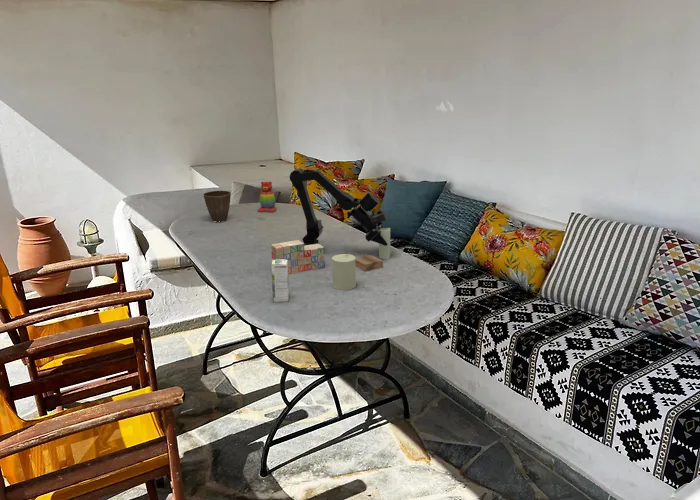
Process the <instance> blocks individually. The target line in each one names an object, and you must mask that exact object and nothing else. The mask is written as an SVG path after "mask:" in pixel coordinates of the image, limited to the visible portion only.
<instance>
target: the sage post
mask: <svg viewBox="0 0 700 500" xmlns="http://www.w3.org/2000/svg"><path fill="white" fill-rule="evenodd" d="M380 230H381V236H382V237H383V238H384V240H385V241H386V242H387V244H388V245H387V246H385V245H382V244H379V243H378V259H382V258H389V259H390V257H391V227H383V228H380ZM380 230H379V231H380Z"/></svg>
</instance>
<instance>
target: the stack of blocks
mask: <svg viewBox="0 0 700 500" xmlns="http://www.w3.org/2000/svg"><path fill="white" fill-rule="evenodd" d="M270 253H271V260H277V259H284V260H288V275H290V274H296V273H300V272H302V273H303V272H305V271H306V272H307V271H311V270H318V269H324V268H326V264H325V263H326V257H325V246H323V245H321V244H313V245H306V246H304V242H303V241H300V240H299V239H295V240H290V241H285V242H278V243H272V244H271V252H270Z"/></svg>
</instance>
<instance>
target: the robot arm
mask: <svg viewBox="0 0 700 500" xmlns="http://www.w3.org/2000/svg"><path fill="white" fill-rule="evenodd" d="M289 180H290V182H291V184H292V186H293V187H294V189H295V190H296V191H297V194H298V197H299V201H300V205H301V208H302V211H303V214H304V216H305V221H306V225H305V226H306V228H305V229H306V234H305V235H304V236H303V238H302V243H304V246H306V245H313V244H320V241H319V237H320V236H322V233H323V231H324V230H323V228H324V226H323V224H322V219H318V218H317V217H316V214H315V211H314V208H313V204H312V201H311V197H310V195H309V194H310V193H309V191H308V188H307V186H308V183H307V182H308V181H315V182H316V183H317V184H318V185H320V186H321V187H322V188H323V189H324V190H325V191H326V192H328V194H330V195H331V196H332V197H333V198H334V199H335V201H336V202H337V204H338V206H339V207H340V208H341V209H342V210H343V211H347V212H346V215H347V217H346V218H347V219H349V218H350V217H352V218H353V219H354V220H355V221H356V222H357V223H358V224H359V227H360V228H363V229H364V230H365V231H366V235H365V240H366V241H367V242H374V243H377V244H378V245H379V244H382V245H385V246H387V245H388V244H387V242H386V241H385V240H384V238H383V237H382V236H381V230H380V228H384V226H385V225H384V222H385V221H387V219H388V217H387V215H386V214H387V213H386V212H385V211H383V210H382V209H380V210H378V211H377V213H376V214H375V215H373V214H369V213H368V212H371V211H373V210H374V209H375V208H376V207H377V206H378V205H379V204H380V200H379V199H378V198H377V196H375V195H374V194H372V193H370V191H368V192H367V193H366V194H365V196H364V197H362V198H357V197H354V196H353V195H351V194H350V193H348V192H347V191H344V190H342V189H341V188H339V187H338V186H337V185H336V184H335V183H334V182H333V181H331V180H330V178H328V177H327V176H326V175H325V174H323V173H322V171H321V170H320V169H303V168H300V167H299V168H295V169H294V170H291V172H290V174H289ZM379 230H380V231H379ZM320 245H321V244H320Z"/></svg>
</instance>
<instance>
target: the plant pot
mask: <svg viewBox="0 0 700 500" xmlns="http://www.w3.org/2000/svg"><path fill="white" fill-rule="evenodd" d="M231 194H232V193H231V192H230V191H228V190H213V191H207V192H205V193H203V199H204V203H205V206H206V208H207V209H206V210H207V212H208V214H209V216H210V218H211V220H212V222H213V221H217V222H219V221H220V222H219V223H222V222H221V221H225V222H226V221H227V219H228V216H229V213H230V212H229V210H230V206H231V205H230V204H231ZM217 222H216V223H217Z"/></svg>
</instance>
